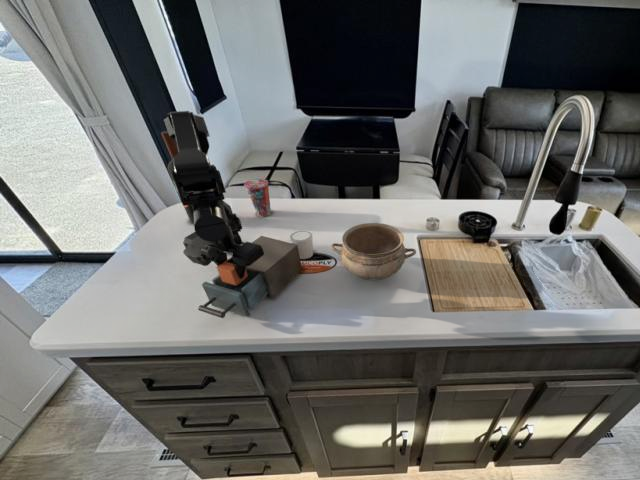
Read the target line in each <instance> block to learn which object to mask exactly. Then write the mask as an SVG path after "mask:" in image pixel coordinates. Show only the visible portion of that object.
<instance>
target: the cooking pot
mask: <svg viewBox="0 0 640 480" xmlns="http://www.w3.org/2000/svg"><path fill="white" fill-rule="evenodd" d="M341 239H342V243H339V242H338V243H337V242H335V243H332V244H331V246H330V248H331V249H332V250H333V252H335V253H337V254H338V255H340V256H341V261H342V263H343V265H344V266H345V268H346V269H347V271H349V273H351V274H352V275H354V276H356V277H358V278H361V279H364V280H370V281H371V280H372V281H374V280H383V279H386V278H389V277H391V276H394V275H395V274H396V273H397V272H398V271H399V270H401V268H402V267H403V265H404V263H405V261H406V260H407V259H409V258H412V257H413V256H415V255H416V254H417V250H416V248H407V247H405V244H404V240H405V237H404V234H403V233H402V231H401V230H400V229H398V228H397V227H395V226H393V225H390V224H386V223H381V222H367V223H360V224H357V225H354V226H352V227H349V228H348V229H347V230H346V231H344V233H343V235H342V238H341ZM336 247H338V248H341V249H338V248H336ZM409 252H411V253H409ZM407 253H408V254H407Z"/></svg>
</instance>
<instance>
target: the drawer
mask: <svg viewBox="0 0 640 480" xmlns="http://www.w3.org/2000/svg"><path fill="white" fill-rule="evenodd" d="M246 271H247V274H248V277H246V278H245V279H244V280H243V281H241V282H240V283H239V284H238V285H237V286H236V285H232V284H229V283H226V282H223V281H222V279H221V277H220V275H219V274H218V275H216V276H215V277H213V278H212V279H211V281H212V283H211V282H208V281H204V282H202V283H201V286H202V289H203V291H204V292H205V294H206V296H207V298H208V301H206V302H205V303H204V304H203V305H202V304H200V305H199V306H198V307H197V310H198V311H200V312H202V313H205V314H208V315H211V316H214V317H218V318H220V319H224V318H225V317H226V314H227V313H228V312H230V313H233V314H235V315H238V316H242V317H245V318H248V317H249V316H250V315H251V313H250V310H252V309H253V308H255V307H256V306H257V305H258V304H259V303H260V302H261V301H262V300H263V299H264V298H266V295H267V294H268V293H269V292H268V288H267V285H266V282H265V279H264V275H263V274H262V273H258V272H255V271H251V270H248V269H246ZM210 305H211V306H212V307H213V308H212V307H208V306H210ZM214 308H218V309H220V310H218V309H214ZM221 310H223V311H221Z"/></svg>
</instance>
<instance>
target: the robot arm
mask: <svg viewBox="0 0 640 480" xmlns="http://www.w3.org/2000/svg"><path fill="white" fill-rule="evenodd" d="M163 122H164V124H165V128H166V131H168V133H169V136H170V137H171V138H172V139H173V140H175V143H176V145H177V148H178V152H179V153H178V154H177V155H176V156H175V157H174V158H173V164H174V169H172V174H173V177H174V180H175V183H176V186H177V189H178V192H179V194H178V196H179V195H180V196H179V199H180V198H181V199H180V201H181V205H182V206H183V207H184V206H185V205H191V204H192V207H193V209H194V224H193V226H194V227H193V228H194V232H192V233H190V234H188V235H187V236H185V237H184V239H183V242H182V244H183V245H184V250H183V251H182V254H183V255H184V256H185V257H186V258H188V259H189V260H190V261H191V262H192V263H193V264H197V265H201V266H203V267H206V266H207V267H208V266H209V265H210V264H211V263H212V262H213V263H214V264H215V265H216V267H218V266H219V265H221V264H222V263H224V262H225V261H226V260H228V259H229V258H228V254H231V257H232V258H231V257H230V258H231V259H229V260H228V261H227V263H231V264H233V266H234V268H235V270H236V272H237V274H238V276H239V278H240V279H242V278H243V277H244V274H245V270H246V266H250V265H251V264H253V263H254V262H255V261H256V260H258V259H259V258H260V257H262V256H263V255H264V251H263V248H262V246H260V245H258V244H254V243H252V242H250V241H246V242H243V240H242V237H241V235H240V233H239V232H242V230H243V225H242V222H241V219H240V217H239V216H238V215H237V214H236V213H233V209H232V207H231V205H230V204H228V203H227V202H226V201H224V200H226V198H225V193H227V191H226V188H225V185H224V181H223V178H222V174H221V172H220V169H218V168H217V167H216V165H215V164H211V162H210V160H209V159H210V158H209V157H208V152H209V150H210V142H209V139H208V138H209V137H211V136H210V132H209V130H208V126H207V124H206V120H205V118H204V117H203V116H200V115H197V114H194V112H193V111H189V110H182V111H181V110H180V111H170V112H167V117H165V118H164V119H163ZM182 187H183V188H182ZM183 189H184V192H186V193H189V192H194V194H190V195H186V198H185V196H184V192H183ZM178 192H177V193H178Z"/></svg>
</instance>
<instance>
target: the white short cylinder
mask: <svg viewBox="0 0 640 480" xmlns="http://www.w3.org/2000/svg"><path fill="white" fill-rule="evenodd" d="M289 239H290V243H292V244H296V245H298V250H299V255H300V260H307V259H310V258H312V257H313V256H314V241H313V239H314V238H313V233H312V232H310V231H308V230H297V231H294V232H292V233H291V234H290V235H289Z"/></svg>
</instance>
